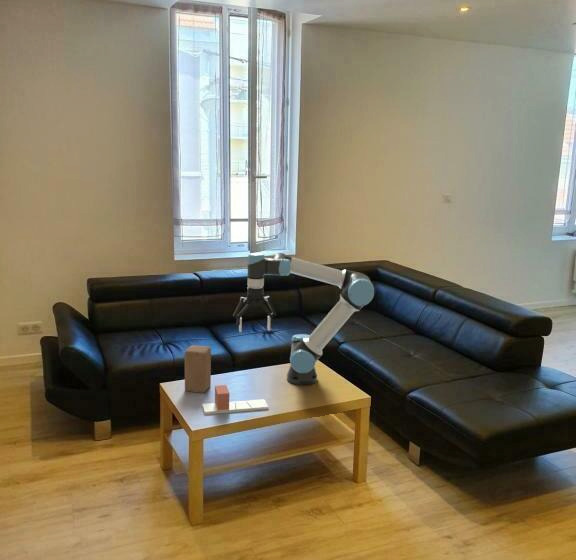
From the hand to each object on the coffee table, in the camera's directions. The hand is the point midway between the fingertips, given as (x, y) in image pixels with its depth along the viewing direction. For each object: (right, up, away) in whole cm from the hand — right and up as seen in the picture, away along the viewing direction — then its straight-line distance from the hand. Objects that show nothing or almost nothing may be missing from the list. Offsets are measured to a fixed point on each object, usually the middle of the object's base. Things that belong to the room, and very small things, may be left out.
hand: (254, 330), depth 271 cm
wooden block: (-27, -28, +4) cm, 39 cm away
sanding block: (-13, -32, -17) cm, 38 cm away
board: (-8, -33, -16) cm, 37 cm away
